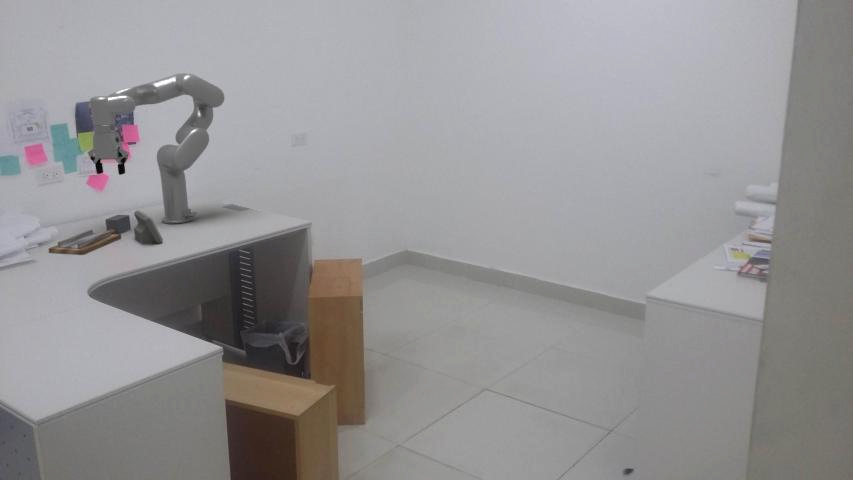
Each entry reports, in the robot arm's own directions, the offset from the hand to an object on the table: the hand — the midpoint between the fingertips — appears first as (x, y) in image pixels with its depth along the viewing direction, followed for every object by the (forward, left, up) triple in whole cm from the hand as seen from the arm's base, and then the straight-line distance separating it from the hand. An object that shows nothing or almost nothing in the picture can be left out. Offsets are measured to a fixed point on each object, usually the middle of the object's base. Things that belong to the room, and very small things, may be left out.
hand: (111, 173), depth 283 cm
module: (0, 0, -23) cm, 23 cm away
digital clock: (-20, +9, -24) cm, 32 cm away
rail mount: (0, +20, -23) cm, 31 cm away
